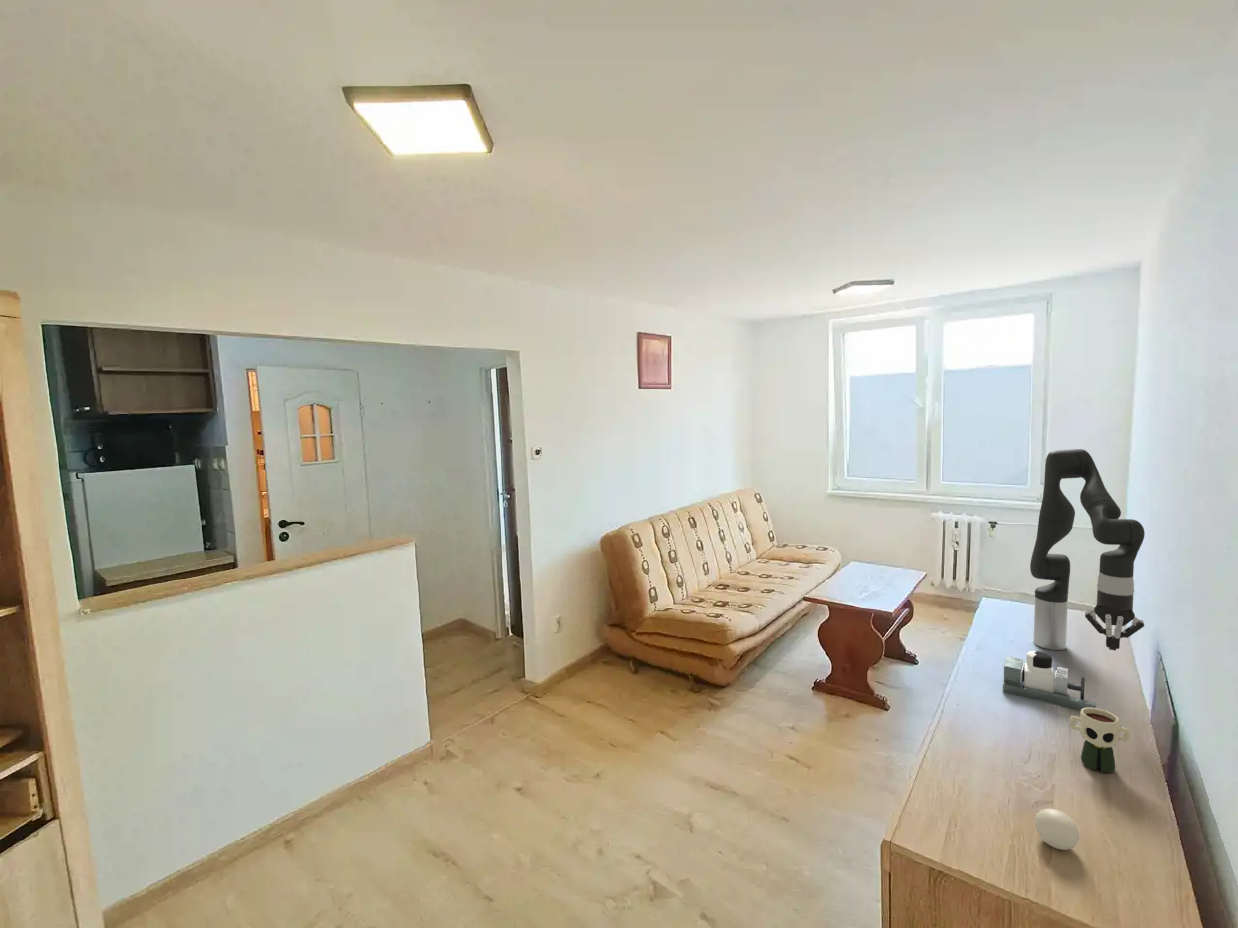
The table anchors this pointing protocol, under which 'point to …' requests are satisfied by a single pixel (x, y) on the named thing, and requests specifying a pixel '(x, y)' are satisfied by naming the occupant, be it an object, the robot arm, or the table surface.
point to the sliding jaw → (1063, 684)
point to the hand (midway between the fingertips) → (1112, 649)
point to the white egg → (1056, 829)
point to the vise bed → (1015, 687)
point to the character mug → (1099, 737)
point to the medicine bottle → (1039, 671)
